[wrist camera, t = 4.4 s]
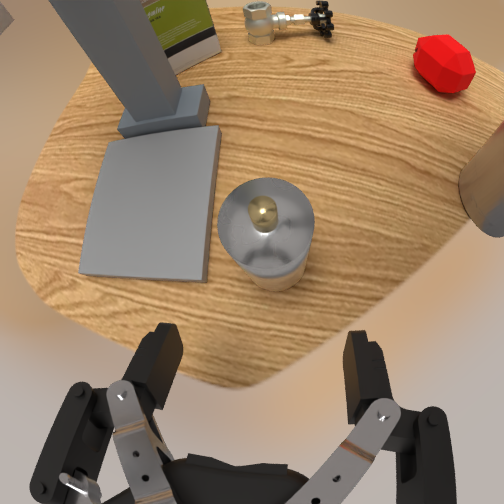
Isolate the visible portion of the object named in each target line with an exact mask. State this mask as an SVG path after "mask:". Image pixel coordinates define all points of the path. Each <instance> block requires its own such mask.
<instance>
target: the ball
mask: <svg viewBox="0 0 504 504" xmlns="http://www.w3.org/2000/svg"><path fill="white" fill-rule="evenodd" d="M415 51H416V52H415V53H414V54H413V58H414V65H415V68H416V69H417V71H418V72H419V74H420V75H421V76H422V77H423V78H424V79H425V80H426V81H428V82H429V83H430V84H431V85H432V86H433V87H434V88H435V89H436V90H437V91H438V92H447V93H455V92H458V91H461V90H465V89H467V88H468V86H469V85H470V83H471V81H472V79H473V77H474V75H475V73H476V71H475V67H474V64H473V61H472V58H471V54H470V52H469V51H468V50H467V49H466V48H465V47H463V46H462V45H461V44H460V43H459V42H457V41H456V40H455V39H453V38H452V37H451V36H450V35H433V36H427V37H421V38H418V41H417V45H416V48H415Z"/></svg>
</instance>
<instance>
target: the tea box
mask: <svg viewBox="0 0 504 504" xmlns="http://www.w3.org/2000/svg"><path fill="white" fill-rule="evenodd" d="M140 2H141V4H142V6H143V8H144V10H145V13H146V15H147V17H148V19H149V21H150V23H151V25H152V27H153V29H154V31H155V33H156V36H157V38H158V40H159V42H160V44H161V46H162V48H163V50H164V52H165V54H166V57H167V59H168V61H169V63H170V65H171V67H172V69H173V71H174V73H175V75H177V74H179V73H181V72H183V71H184V70H186V69H188V68H190V67H192V66H194V65H196V64H198V63H200V62H202V61H204V60H206V59H208V58H210V57H212V56H214V55H216V54H218V53H220V52H221V48H220V44H219V40H218V37H217V34H216V31H215V28H214V24H213V21H212V18H211V15H210V12H209V8H208V5H207V3H206V0H140Z"/></svg>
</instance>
